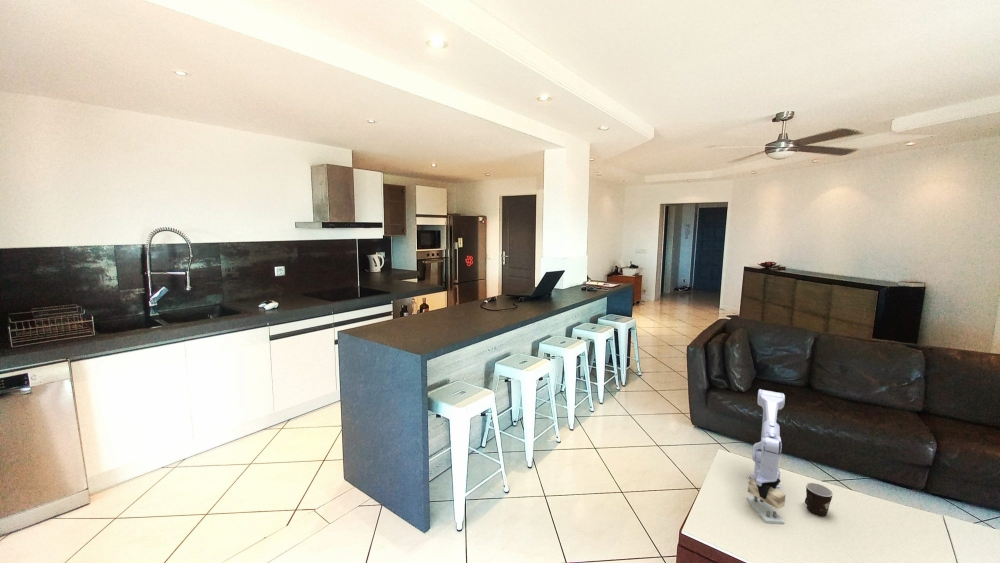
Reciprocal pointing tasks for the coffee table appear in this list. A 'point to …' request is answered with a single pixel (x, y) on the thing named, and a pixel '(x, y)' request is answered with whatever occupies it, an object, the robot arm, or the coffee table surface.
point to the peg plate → (765, 510)
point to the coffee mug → (818, 499)
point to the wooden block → (768, 495)
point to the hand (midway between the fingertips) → (766, 495)
